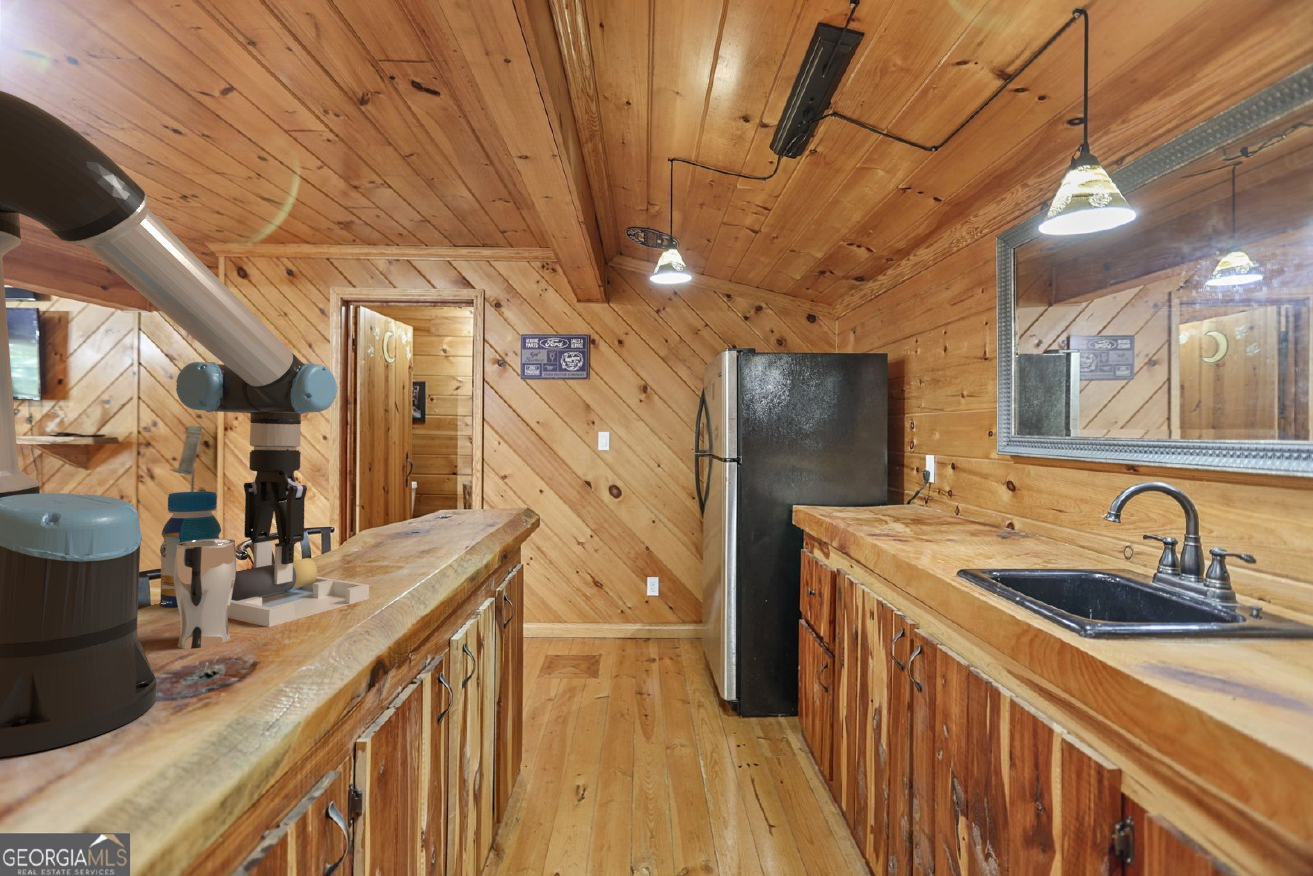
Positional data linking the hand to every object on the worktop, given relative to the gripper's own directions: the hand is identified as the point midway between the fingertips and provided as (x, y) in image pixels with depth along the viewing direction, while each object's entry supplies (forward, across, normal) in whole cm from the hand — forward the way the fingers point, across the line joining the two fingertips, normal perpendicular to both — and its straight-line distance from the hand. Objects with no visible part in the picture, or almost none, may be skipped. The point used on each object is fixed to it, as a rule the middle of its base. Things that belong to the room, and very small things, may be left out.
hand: (272, 580), depth 102 cm
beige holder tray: (+5, -4, 0) cm, 6 cm away
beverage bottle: (+5, +13, +6) cm, 15 cm away
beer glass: (+5, -11, +17) cm, 21 cm away
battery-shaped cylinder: (+2, 0, 0) cm, 2 cm away
